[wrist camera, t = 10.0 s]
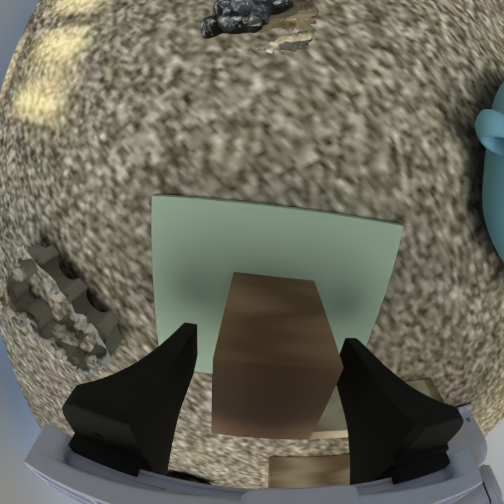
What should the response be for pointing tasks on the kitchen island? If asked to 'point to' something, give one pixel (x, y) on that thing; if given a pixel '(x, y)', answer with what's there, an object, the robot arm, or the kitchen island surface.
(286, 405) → the walnut block
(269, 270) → the sage mat
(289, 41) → the blueberries
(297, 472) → the open-side box
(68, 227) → the kitchen island surface
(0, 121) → the kitchen island surface
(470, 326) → the kitchen island surface
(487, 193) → the decorative pot
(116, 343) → the egg carton
